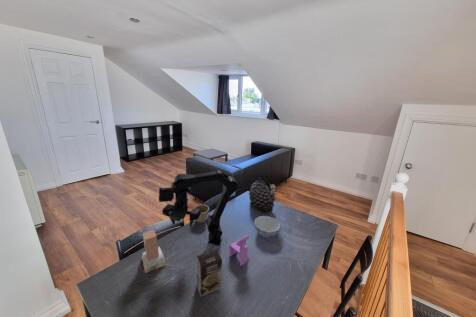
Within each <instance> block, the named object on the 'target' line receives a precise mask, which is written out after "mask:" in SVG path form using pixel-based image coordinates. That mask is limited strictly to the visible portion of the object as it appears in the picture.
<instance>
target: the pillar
mask: <svg viewBox="0 0 476 317" xmlns="http://www.w3.org/2000/svg"><path fill="white" fill-rule="evenodd" d="M142 239H143V247H144V252H145V254H146V257H147V260H151V259H153V258H156V257H158V256H159V252H158V247H159V245H158V236H157V233H156V231H155V229H151V230H149V231H146V232H143V233H142Z"/></svg>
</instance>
